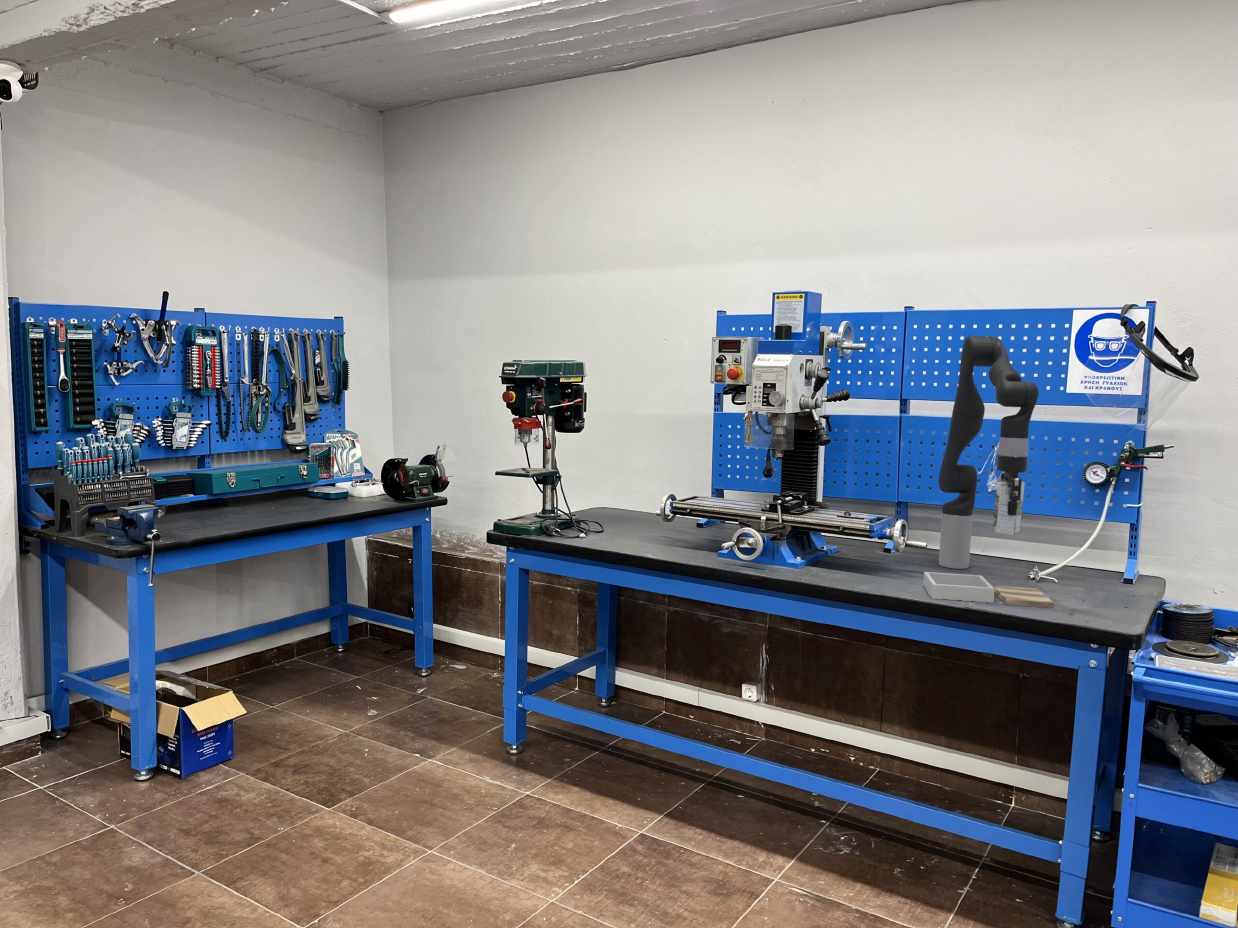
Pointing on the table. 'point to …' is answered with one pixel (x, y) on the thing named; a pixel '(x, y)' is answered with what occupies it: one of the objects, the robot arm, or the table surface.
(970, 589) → the parts tray
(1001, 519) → the syrup box
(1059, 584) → the table surface
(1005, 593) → the board
